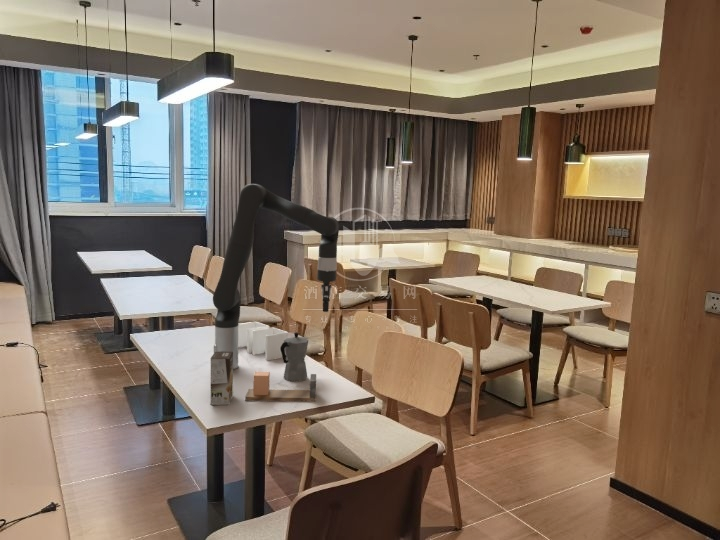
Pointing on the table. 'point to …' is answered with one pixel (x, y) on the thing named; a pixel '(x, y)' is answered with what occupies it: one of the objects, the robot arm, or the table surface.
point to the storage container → (261, 339)
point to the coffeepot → (294, 358)
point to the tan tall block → (261, 383)
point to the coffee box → (221, 378)
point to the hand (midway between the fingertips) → (325, 309)
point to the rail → (286, 394)
